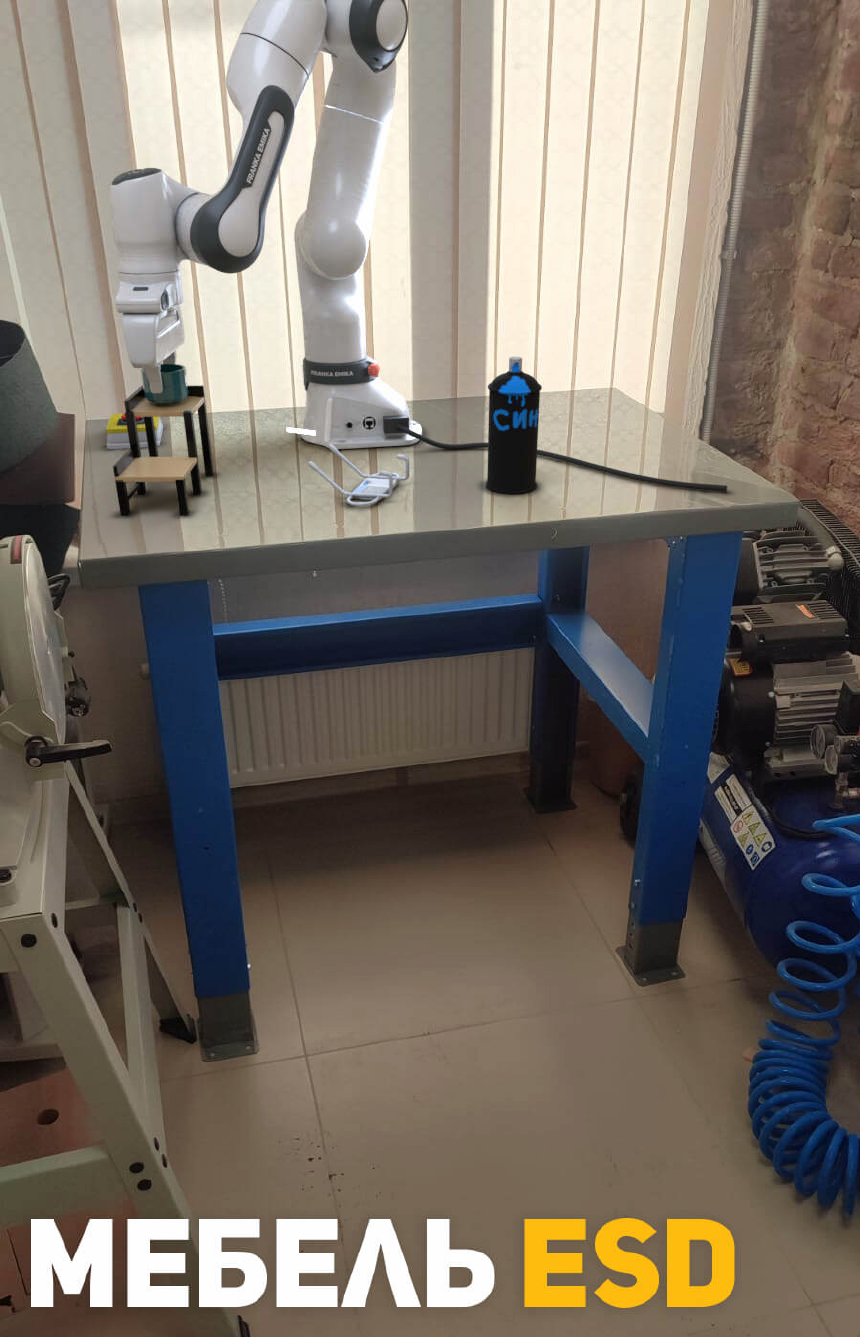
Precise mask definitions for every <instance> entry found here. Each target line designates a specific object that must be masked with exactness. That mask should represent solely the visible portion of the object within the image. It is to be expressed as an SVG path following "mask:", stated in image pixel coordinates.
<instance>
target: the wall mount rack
mask: <svg viewBox="0 0 860 1337" xmlns="http://www.w3.org/2000/svg"><path fill="white" fill-rule="evenodd" d="M328 449H329V450H330V451H331V452H332V453H333V454H336V455H337V456H338V457H339V458H340V459H341V460H342V461H343V462H345V464H346V465H348V467H350V468H351V469H352V470H353V471H354V472H355V473H357V474H358V476H360V477H361V478H364V480H363V481H362V482H361V483H360V484H359V485H358V486H357V487H356V488H355V489H353V491H352V492H350V491H345V490H344V489H343V488H341V487H340V486H339V485H338V484H337V483H336V482H334V481H333V480H332V479H331V478H330V477H329V476H328V475H326V474H325V472H323V471H322V470H321V469H320V468H319V467H318V466H317V465H316V464H315V463H314V462H313V461H311V460H310V461H308V462H307V466H308V467H309V468H310V469H312V470H313V471H314V472H316V473H317V474H318V475H320V477H321V478H324V480H325V481H327V483H329V484H330V485H331V486H332V487H333V488H335V489H336V490H337V491H338V492H339V493H340V494H342V495H344V496H347V498H346V503H347V504H348V505H350V506H354V507H367V506H371V505H375V504H376V503H378V502H379V501H380V500H383V499H389V498H391V497H392V496H393V491H394V490H393V489H394V488H395V487H396V486H397V485H398V482H399V481H407V480H408V479H409V478H410V459H409V457H408V456H406V454H401V453H398V454H397V455H396V458H397V459H398V460H400V461H401V460H402V461H404V462H405V476H400V474H398V473H396V472H389V471H388V470H382V469H381V470H380V471H379V472H376V473H373V474H365V473H363V472H362V470H360V469H359V468H357V467H356V466H355V465H354V464H353V463H352V462H351V461H350V460H349V459H348V458H347V457H346V456H344V454H342V453H341V451H339V449H337V448H335V447H334V446H333V445H332V444H330V445H329V448H328ZM352 499H356V500H367V501H364V502H356V501H352Z"/></svg>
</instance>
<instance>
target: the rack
mask: <svg viewBox="0 0 860 1337" xmlns="http://www.w3.org/2000/svg"><path fill="white" fill-rule="evenodd" d="M188 392H189V394H188V396H186V399H184V400H182V401H179V402H173V403H153V402H150V401H148V399H147V398H145V396H144V389H143V385H140V386H139V387H138V388H137V389H136V390H135V391H134V392H133V393H131V394H130V395H129V396H128V397H127V398H126V399H125V400H124V409H125V417H126V423H127V430H128V437H129V443H130V448H128V450H127V451H126V452H125V453H124V454H123V455H122V456H120V458H119V459H118V460H117V461H116V462H115V463H114V464H113V465H112V470H113V476H114V483H115V489H116V494H117V501H118V507H119V508H118V509H119V513H120V514H119V515H120V516H123V517H129V516H130V515H131V513H132V511H131V506H130V501H131V499H132V498H133V497H134V495H135V494H136V495H137V496H145V495H146V494H147V486H146V485H147V484H146V483H175V490H176V497H177V505H178V513H179V516H182V517H183V516H187V517H188V515H189V514H190V506H189V499H188V492H187V484H186V479H187V477H188V476H189V474H190V481H191V487H192V495H193V496H201V495H202V494H203V488H202V480H201V471H200V470H201V469H200V463H199V455H198V447H197V446H198V445H197V439H196V429H195V422H194V415H195V414H196V412H197V415H198V416H197V418H198V425H199V434H200V443H201V451H202V460H203V467H204V468H203V469H204V477H213V476H214V475H215V473H214V463H213V455H212V454H213V453H212V445H211V436H210V427H209V420H208V419H209V418H208V410H207V403H206V402H207V401H206V393H205V385H188ZM136 417H144V422H145V429H146V436H147V443H148V447H147V450H148V456H142V452H141V448H140V444H139V438H138V431H137V424H136ZM153 417H160V418H161V417H162V418H163V417H169V418H170V417H183V424H184V432H185V439H186V440H185V441H186V448H187V456H159V449H158V446H157V442H156V435H155V427H154V420H153ZM127 483H134V484H133V485H132V486H131V487H130V489H128V488H127Z"/></svg>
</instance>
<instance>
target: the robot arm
mask: <svg viewBox="0 0 860 1337" xmlns="http://www.w3.org/2000/svg"><path fill="white" fill-rule="evenodd" d="M407 6H408V5H407V3H406V0H256V2H255V3H254V5H253V7H252V8H251V11H250V12H249V14H248V16H247V18H246V20H245V22H244V24H243V27H242V29H241V30H240V32H239V35H238V37H237V40H236V42H235V44H234V47H233V50H232V52H231V55H230V58H229V62H228V65H227V71H226V74H225V75H226V76H225V87H226V90H227V93H228V96H229V98H230V101H231V103H232V105H233V106H234V108H235V110H237V112H238V113H239V114H240V116H241V117H242V118H241V119H242V133H241V136H240V140H239V142H238V145H237V148H236V151H235V154H234V156H233V159H232V163H231V165H230V168H229V171H228V174H227V177H226V179H225V182H224V184H223V185H222V186H221V187H220V188H219V190H217V191H216V192H215V193H213V194H210V193H205V192H201V191H199V190H197V189H193V188H191V187H189V186H187V185H184V184H182V183H180V182H179V181H177V180H175V179H174V178H172V177H170V176H169V175H168V174H166V173H165V172H164V171H163V169H161V168H157V167H145V168H138V169H134V170H128V171H124V172H122V173H120V174H119V175H117V176H115V177H114V179H113V180H112V182H111V184H110V189H109V210H110V223H111V231H112V238H113V239H112V240H113V241H114V244H115V247H116V249H117V250H116V251H117V253H118V255H117V256H118V263H117V275H118V282H119V283H118V291H117V293H116V296H115V299H114V300H115V301H114V302H115V308H116V312H117V313H119V314H122V315H121V326H122V331H123V338H124V342H125V346H126V347H125V348H126V351H127V356H128V360H129V362H130V364H131V366H132V367H133V368H135V369H142V368H144V370H145V373H146V376H147V378H148V380H149V384H150V391H151V392H152V393H161V392H162V391H163V390H164V381H163V379H162V377H161V372H160V369H161V365H160V364H177V349H179V348H180V347H181V346H182V345H183V344H184V343H185V337H186V336H185V327H184V321H183V313H182V309H181V305H182V304H183V303H184V293H183V284H182V276H181V267H180V266H181V265H180V264H181V262H182V261H186V260H187V261H190V262H194V263H196V264H199V265H203V266H207V267H209V268H211V269H213V270H216V271H217V272H220V273H223V274H237V273H241V272H243V271H245V270H247V269H249V268H250V267H251V266H252V265H253V264H254V263H255V262H256V261H257V260H258V258H259V256H260V254H261V252H262V250H263V245H264V242H265V241H264V240H265V231H266V230H265V229H266V228H265V227H266V215H267V210H268V205H269V202H270V198H271V195H272V193H273V190H274V187H275V184H276V181H277V178H278V176H279V172H280V170H281V167H282V164H283V160H284V158H285V155H286V152H287V150H288V146H289V143H290V139H291V136H292V133H293V129H294V124H295V119H296V112H297V109H298V108H299V104H300V102H301V99H302V96H303V94H304V92H305V90H306V87H307V84H308V83H309V80H310V78H311V75H312V73H313V71H314V67H315V65H316V63H317V60H318V56H319V53H323V54H325V55H329V56H330V57H331V64H332V65H331V66H332V70H331V74H330V78H329V80H328V84H327V87H326V91H325V95H324V96H325V97H324V100H323V106H322V111H321V115H320V119H319V120H320V121H319V125H318V130H317V135H316V140H315V146H314V150H313V156H312V163H311V172H310V181H309V188H308V189H309V190H308V194H307V201H306V202H307V203H306V209H305V210H304V211H303V212H301V215H299V218H298V219H297V221H296V224H295V226H294V231H293V232H294V234H293V240H294V250H295V252H294V253H295V261H296V272H297V281H298V290H299V299H300V305H301V319H302V334H303V348H304V357H303V359H302V365H301V366H302V367H301V368H302V381H303V386H304V390H305V409H304V419H303V425H302V428H295V427H289V426H288V427H286V432H287V433H293V434H294V433H295V434H300V438H302V439H303V440H304V441H306V442H308V443H311V444H316V445H321V446H323V447H325V448H328V449H329V445H330V444H332V445H333V446H334V447H335V448H337V449H338V450H345V449H346V450H347V449H349V450H350V449H363V448H365V449H366V448H379V447H382V448H383V447H397V446H410V445H411V446H412V445H415V444H416V443H418V442H419V441H422V442H423V443H425V444H428V445H429V446H432V447H435V448H437V449H438V448H439V449H445V450H467V449H478V448H480V449H481V448H483V449H485V448H486V449H488V442H486V441H485V442H482V441H481V442H469V443H456V444H455V443H443V442H439V441H436V440H433V439H431V438H430V437H429V438H428V437H426V436H424V435H423V428H422V425H421V424H420V423H419V422H417V421H415V420H412V419H411V412H410V409H409V406H408V403H407V401H406V399H405V397H404V396H402V395H401V394H400V393H399V392H398V391H396V390H395V389H393V388H392V387H391V386H390V385H388V384H387V383H386V382H384V381H383V380H381V378H379V374H380V366H379V362H378V361H377V360H378V359H376V358H374V359H373V358H372V357H370V356H368V355H367V340H366V339H367V336H366V311H365V306H364V305H365V304H364V298H363V290H362V282H361V281H362V280H361V273H360V269H361V267H362V266H363V265H364V263H365V261H366V258H367V254H368V250H369V242H370V237H371V231H372V224H373V219H374V213H375V212H374V211H375V204H376V196H377V187H378V186H377V184H378V180H379V176H380V175H379V174H380V170H381V166H382V160H383V156H384V151H385V148H386V143H387V139H388V134H389V129H390V125H391V120H392V115H393V110H394V102H395V96H396V86H397V85H396V84H397V69H398V68H397V60H396V58H397V55H398V54H399V52H400V51H401V49H402V46H403V45H404V42H405V40H406V36H407V31H408V26H409V11H408V7H407ZM537 456H541V457H545V458H550V459H554V460H558V461H561V462H565V463H569V464H573V465H577V466H581V467H583V468H587V469H591V470H593V471H598V472H602V473H605V474H606V473H607V474H610V475H613V476H617V477H620V478H625V479H628V480H629V479H630V480H634V481H639V482H643V483H647V484H648V483H649V484H654V485H660V486H666V487H673V488H680V489H690V490H701V491H702V490H703V491H716V492H728V485H726V484H725V485H723V484H710V483H699V482H688V481H687V482H686V481H678V480H671V479H665V478H657V477H652V476H648V475H642V474H637V473H632V472H628V471H624V470H619V469H615V468H611V467H608V466H606V465H605V466H604V465H602V464H601V465H600V464H596V463H592V462H590V461H586V460H583V459H579V458H575V457H571V456H568V455H564V454H560V453H554V452H551V451H547V450H542V449H538V448H537Z"/></svg>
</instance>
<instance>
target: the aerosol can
mask: <svg viewBox="0 0 860 1337" xmlns="http://www.w3.org/2000/svg"><path fill="white" fill-rule="evenodd" d="M487 389H488V390H489V391H488V392H489V393H488V401H489V402H488V434H487V436H488V438H487V443H488V448H487V474H486V475H487V479H486V482H485V487H486V489H488V491H491V492H493V493H498V494H504V495H521V494H522V495H523V494H528V493H530V492H533V491H534V490H536V489H537V488H538V483H537V482H536V480H537V464H538V462H537V461H538V455H537V449H538V442H539V441H538V439H539V422H540V421H539V418H540V417H539V416H540V400H541V398H540V397H541V391H542V389H543V386H542V385H541V384H540V383H539V382H538V380H537V379H536V378H535V377H534V376H532V375H531V374H529V373H527V372H524V371H523V357H522V356H509V358H508V370H507V371H506V372H503V373H501V374H499V375H497V376H496V377H495V378H493V380H492V381H491V382H490V383H489V384H488V385H487Z"/></svg>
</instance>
